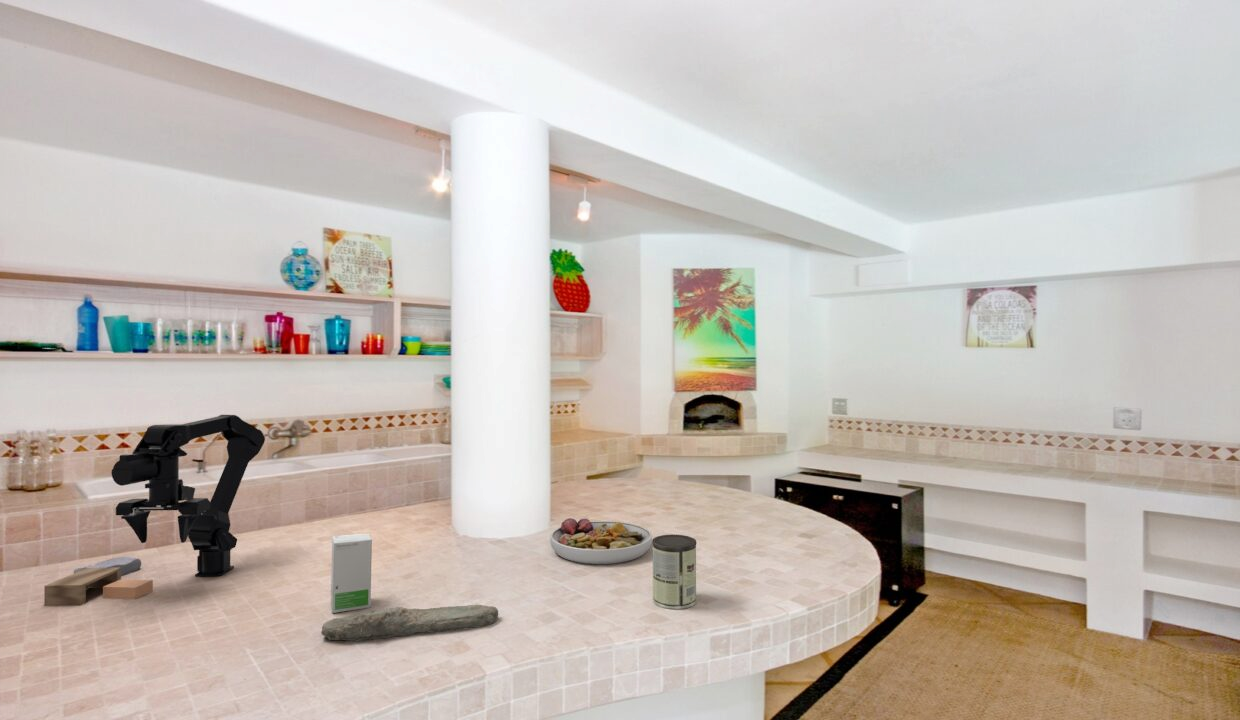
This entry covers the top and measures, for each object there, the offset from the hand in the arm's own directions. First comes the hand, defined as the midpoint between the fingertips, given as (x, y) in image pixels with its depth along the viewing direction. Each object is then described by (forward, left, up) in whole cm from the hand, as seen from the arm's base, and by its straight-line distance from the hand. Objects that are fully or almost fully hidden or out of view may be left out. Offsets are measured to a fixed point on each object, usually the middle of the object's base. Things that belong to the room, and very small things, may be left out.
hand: (163, 542), depth 147 cm
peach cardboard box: (+8, +1, -12) cm, 15 cm away
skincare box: (-48, +10, -12) cm, 50 cm away
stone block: (+23, -14, -13) cm, 30 cm away
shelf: (+18, +1, -12) cm, 21 cm away
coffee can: (-122, +11, -12) cm, 123 cm away
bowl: (-106, -28, -13) cm, 110 cm away
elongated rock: (-65, +23, -13) cm, 70 cm away
